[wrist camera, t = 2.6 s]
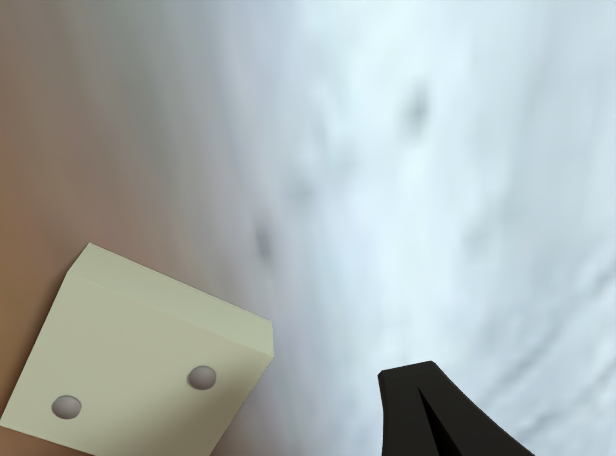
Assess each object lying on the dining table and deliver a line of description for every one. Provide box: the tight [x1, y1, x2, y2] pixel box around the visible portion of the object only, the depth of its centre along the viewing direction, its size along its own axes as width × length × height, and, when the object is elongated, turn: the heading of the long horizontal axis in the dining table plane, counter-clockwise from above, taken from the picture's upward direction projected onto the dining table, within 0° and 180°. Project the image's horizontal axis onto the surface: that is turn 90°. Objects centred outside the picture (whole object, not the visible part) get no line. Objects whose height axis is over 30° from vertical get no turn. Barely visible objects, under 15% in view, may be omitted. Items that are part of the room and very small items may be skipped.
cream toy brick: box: [0, 243, 274, 456], centre depth 20 cm, size 8×8×3 cm
